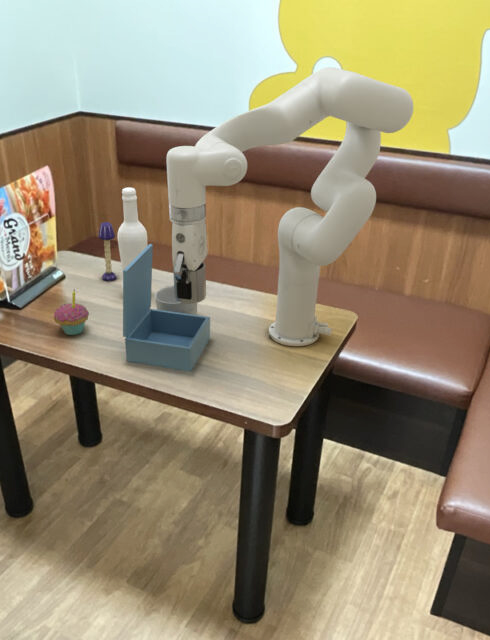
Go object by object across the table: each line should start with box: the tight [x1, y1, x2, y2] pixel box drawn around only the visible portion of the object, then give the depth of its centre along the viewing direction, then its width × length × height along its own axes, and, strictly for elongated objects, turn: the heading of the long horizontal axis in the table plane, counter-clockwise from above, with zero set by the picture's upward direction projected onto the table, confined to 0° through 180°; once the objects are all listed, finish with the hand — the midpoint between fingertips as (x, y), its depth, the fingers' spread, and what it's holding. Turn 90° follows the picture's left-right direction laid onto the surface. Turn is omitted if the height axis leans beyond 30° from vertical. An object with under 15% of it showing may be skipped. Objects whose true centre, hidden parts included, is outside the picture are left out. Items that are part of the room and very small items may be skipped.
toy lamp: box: [98, 221, 118, 282], centre depth 176 cm, size 5×5×17 cm
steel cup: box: [172, 261, 207, 304], centre depth 133 cm, size 7×7×8 cm
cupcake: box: [53, 288, 90, 336], centre depth 151 cm, size 9×8×12 cm
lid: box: [122, 243, 154, 338], centre depth 138 cm, size 16×16×1 cm
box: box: [124, 308, 211, 373], centre depth 144 cm, size 16×16×7 cm
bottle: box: [117, 186, 148, 295], centre depth 162 cm, size 8×8×30 cm
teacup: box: [154, 284, 198, 315], centre depth 157 cm, size 14×11×8 cm
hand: (190, 290), depth 134 cm, fingers closed on steel cup, 6 cm apart
